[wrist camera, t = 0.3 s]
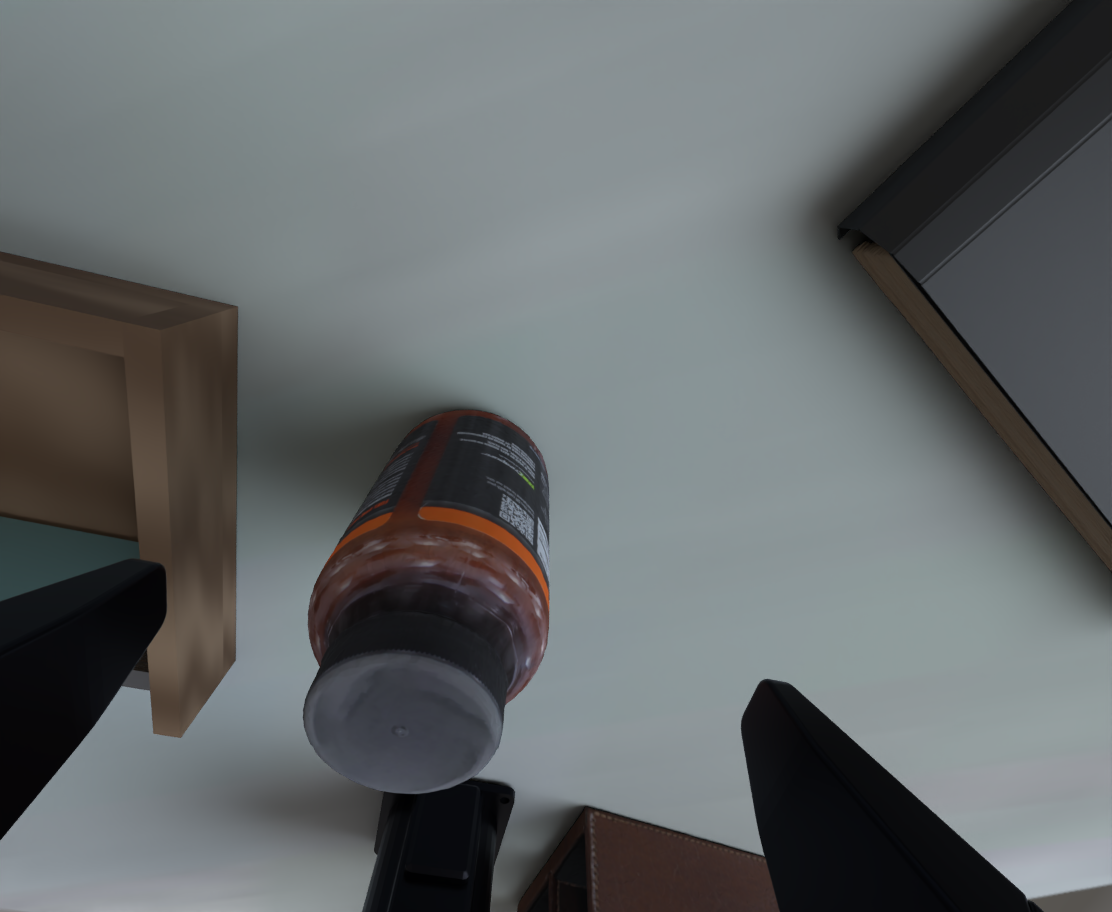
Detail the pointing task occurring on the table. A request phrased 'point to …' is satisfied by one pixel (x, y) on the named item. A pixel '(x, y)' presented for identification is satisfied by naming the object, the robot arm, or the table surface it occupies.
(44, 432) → the brown shallow box
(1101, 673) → the table surface
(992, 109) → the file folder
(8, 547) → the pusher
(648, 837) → the letter holder
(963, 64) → the table surface
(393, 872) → the robot arm
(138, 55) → the table surface
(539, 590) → the supplement bottle
